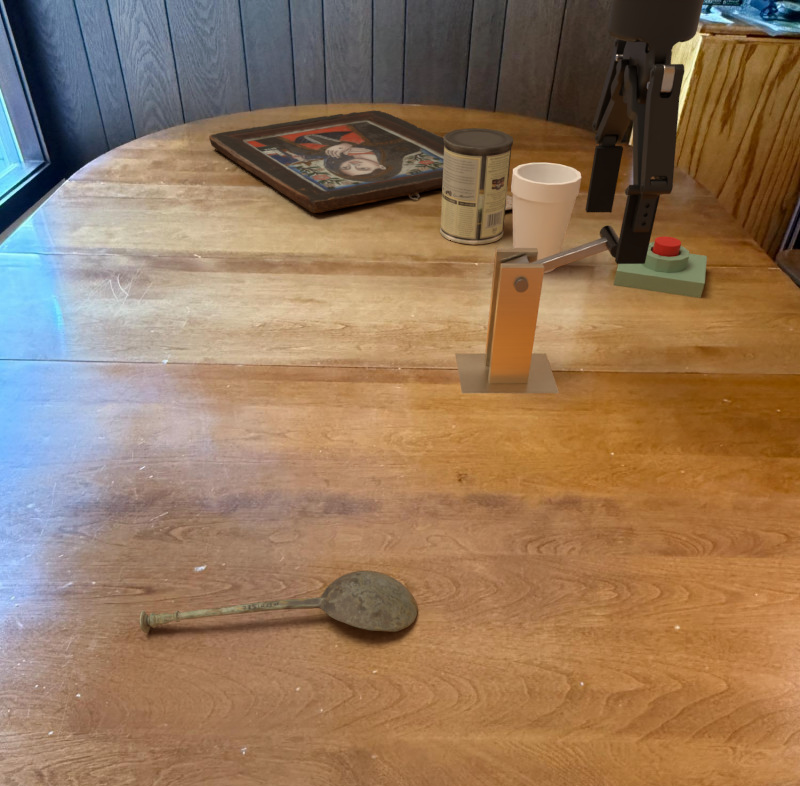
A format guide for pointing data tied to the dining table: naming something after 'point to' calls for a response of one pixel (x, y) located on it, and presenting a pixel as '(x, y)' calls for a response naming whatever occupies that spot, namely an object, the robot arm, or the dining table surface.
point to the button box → (665, 273)
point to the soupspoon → (329, 604)
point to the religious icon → (339, 158)
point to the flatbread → (509, 203)
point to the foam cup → (543, 205)
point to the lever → (577, 251)
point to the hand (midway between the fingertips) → (613, 235)
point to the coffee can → (475, 185)
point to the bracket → (510, 333)
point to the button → (666, 246)
